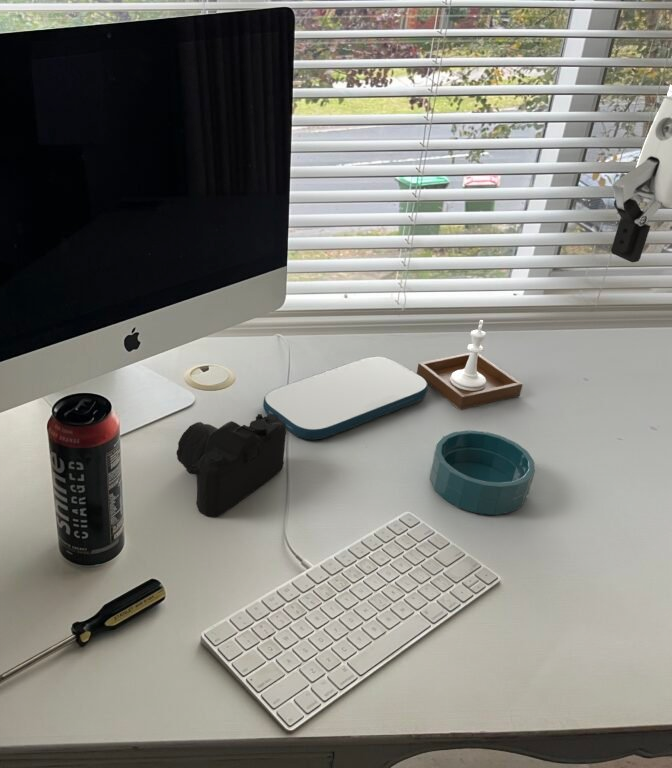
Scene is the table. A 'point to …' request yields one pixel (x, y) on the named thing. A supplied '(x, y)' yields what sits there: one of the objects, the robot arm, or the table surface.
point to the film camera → (232, 460)
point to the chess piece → (471, 365)
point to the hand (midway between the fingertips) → (659, 251)
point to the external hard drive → (344, 397)
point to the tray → (495, 390)
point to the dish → (482, 472)
